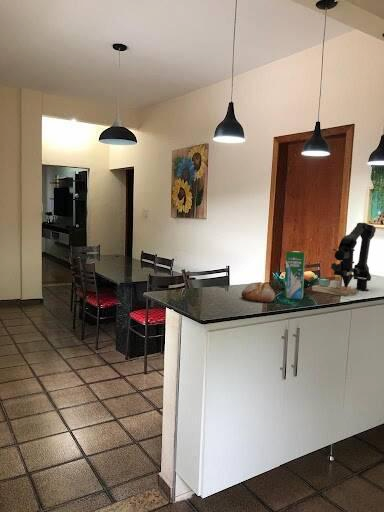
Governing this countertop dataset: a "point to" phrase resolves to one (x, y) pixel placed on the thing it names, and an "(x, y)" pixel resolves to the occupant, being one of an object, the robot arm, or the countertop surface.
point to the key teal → (323, 282)
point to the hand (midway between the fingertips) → (345, 286)
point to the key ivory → (335, 284)
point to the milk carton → (294, 275)
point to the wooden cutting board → (334, 290)
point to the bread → (258, 292)
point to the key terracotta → (345, 288)
